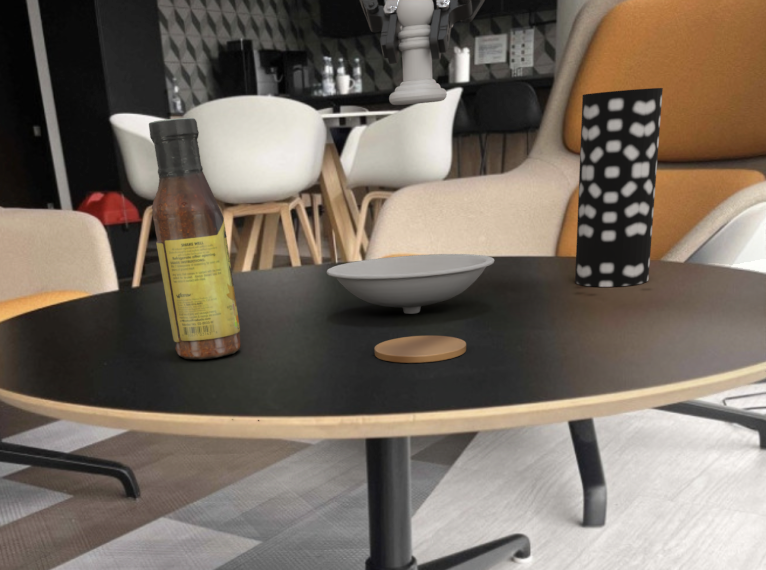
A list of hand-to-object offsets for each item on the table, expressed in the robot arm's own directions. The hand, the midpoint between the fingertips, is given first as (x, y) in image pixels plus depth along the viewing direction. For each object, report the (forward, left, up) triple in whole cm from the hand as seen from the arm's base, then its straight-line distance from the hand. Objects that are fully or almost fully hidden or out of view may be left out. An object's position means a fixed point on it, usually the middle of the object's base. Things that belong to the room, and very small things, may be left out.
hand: (413, 53), depth 78 cm
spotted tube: (-16, -25, -24) cm, 38 cm away
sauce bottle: (+17, +14, -24) cm, 33 cm away
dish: (+3, -6, -24) cm, 25 cm away
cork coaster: (-3, +12, -24) cm, 27 cm away
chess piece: (0, -2, -4) cm, 5 cm away
